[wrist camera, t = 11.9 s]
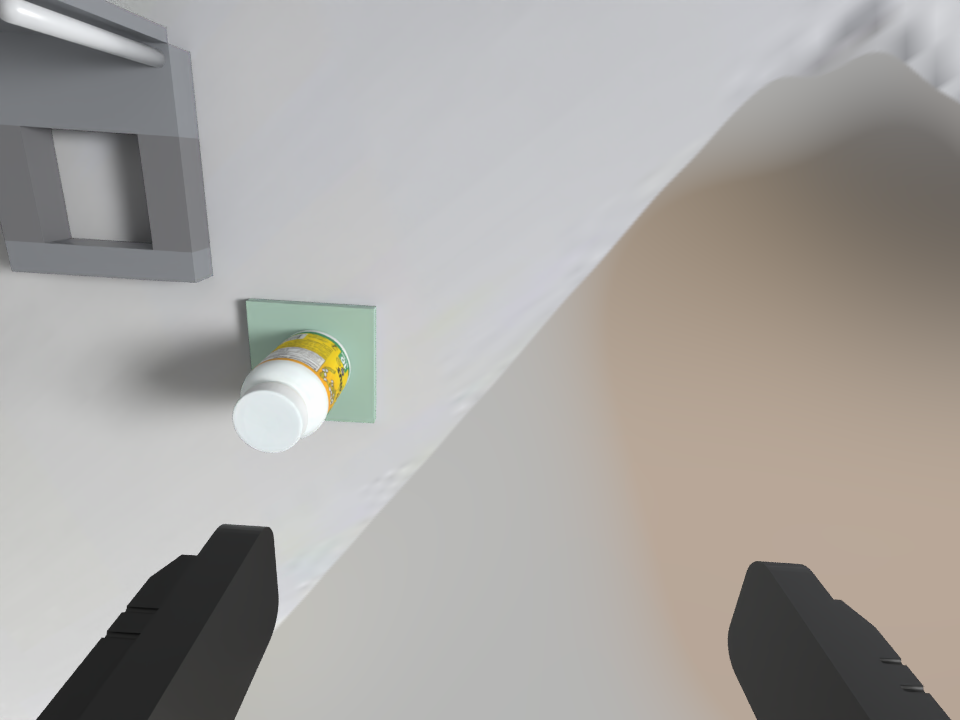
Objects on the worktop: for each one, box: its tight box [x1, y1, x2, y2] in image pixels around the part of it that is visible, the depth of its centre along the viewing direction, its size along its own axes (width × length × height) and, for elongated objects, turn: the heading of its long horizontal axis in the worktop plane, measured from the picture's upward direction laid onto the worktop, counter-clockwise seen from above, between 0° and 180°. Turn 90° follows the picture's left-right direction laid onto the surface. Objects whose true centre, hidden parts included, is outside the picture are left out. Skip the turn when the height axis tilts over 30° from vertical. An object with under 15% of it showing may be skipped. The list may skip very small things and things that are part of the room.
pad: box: [246, 299, 376, 423], centre depth 40 cm, size 9×9×1 cm
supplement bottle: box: [232, 330, 351, 453], centre depth 35 cm, size 5×5×10 cm
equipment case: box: [0, 0, 213, 283], centre depth 29 cm, size 15×12×14 cm
